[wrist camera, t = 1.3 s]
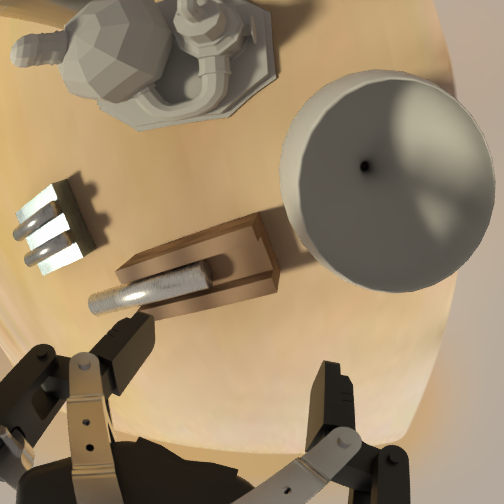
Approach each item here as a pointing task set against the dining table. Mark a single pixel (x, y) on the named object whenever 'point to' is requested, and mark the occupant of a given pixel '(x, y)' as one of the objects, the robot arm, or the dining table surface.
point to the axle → (153, 289)
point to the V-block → (53, 229)
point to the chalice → (387, 180)
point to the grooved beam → (211, 266)
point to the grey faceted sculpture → (159, 58)
